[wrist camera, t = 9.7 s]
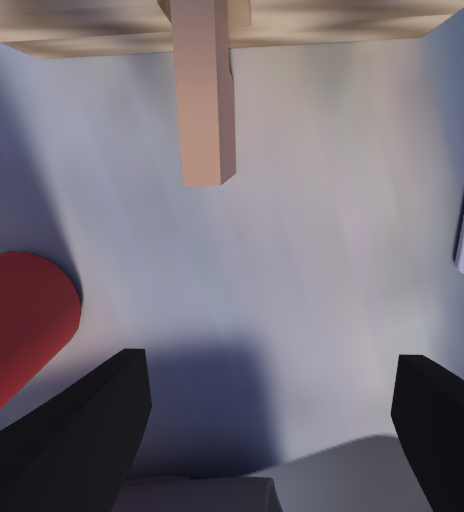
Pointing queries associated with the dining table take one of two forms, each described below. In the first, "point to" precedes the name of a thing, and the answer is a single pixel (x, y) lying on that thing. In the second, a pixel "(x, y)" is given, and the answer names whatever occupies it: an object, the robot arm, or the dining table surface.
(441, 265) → the dining table surface
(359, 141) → the dining table surface
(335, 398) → the dining table surface
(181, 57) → the tan thin board
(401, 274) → the dining table surface
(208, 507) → the bluetooth speaker
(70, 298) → the beer can
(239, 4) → the slotted rail
